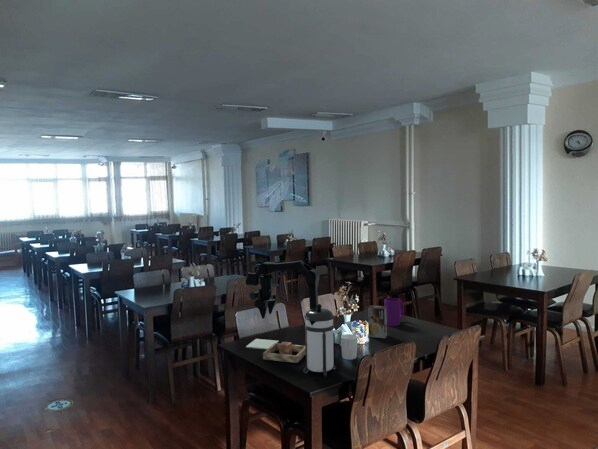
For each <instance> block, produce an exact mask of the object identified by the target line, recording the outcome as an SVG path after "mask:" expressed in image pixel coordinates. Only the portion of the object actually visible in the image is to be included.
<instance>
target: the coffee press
mask: <svg viewBox="0 0 598 449" xmlns="http://www.w3.org/2000/svg"><path fill="white" fill-rule="evenodd" d="M316 307H317V308H315V309H311V310H310V309H309V310H307V311H306V312H305V315H304V319H305V324H304V328H305V331H304V333H305V336H304V337H305V346H306V354H305V367H304V368H303V370H302V371H303V373H304V374H308V372H310V371H311V372H314V373H321V374H322V375H323V376H322V377H325V378H326V377H328V373H327V372H329V371H331V370H336V369H337V366H336V365H335V363H334V360H335V359H334V355H335V354H334V328H335V327H334V326H335V325H334V318H335V315H334V314H333V312H332V311H331V310H330V309H328V308H324V307H323V306H322V304H320V303H318V305H317V306H316Z"/></svg>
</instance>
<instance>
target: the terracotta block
mask: <svg viewBox="0 0 598 449" xmlns="http://www.w3.org/2000/svg"><path fill="white" fill-rule="evenodd" d="M292 345H293V343H292V342H290V341H282V342H281V343H280V345H279V350H278V351H279V353H278V354H286V355H293V351H292Z"/></svg>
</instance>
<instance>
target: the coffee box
mask: <svg viewBox="0 0 598 449" xmlns="http://www.w3.org/2000/svg"><path fill="white" fill-rule="evenodd" d="M367 310H368V312H367V315H368V319H367V321H368V337H369V338H377V339H378V338H379V339H386V338H387V337H388V326H387V307H386V306H384V305H369V307H368V309H367Z"/></svg>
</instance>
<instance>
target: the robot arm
mask: <svg viewBox="0 0 598 449" xmlns="http://www.w3.org/2000/svg"><path fill="white" fill-rule="evenodd" d="M290 270H297V271H299V273H300V274H301V276H303V278H305V283H306V285H307V288H308V298H309V310H311V309H315V308H317V307H316V306H317V305H318V304H319V294H318V286H319V283H320V282H319V281H320V271H318V269H315V268H313V267H312V266H310V265H308V264H307V263H305V262H304V261H303V260H297V261H288V262H287V261H286V262H285V261H284V262H273V261H265V262H262V263H260V264H259V266H258V270H257V271H256V272H248V273H247V274H246V275H247V276H246V278H245V284H246V286H248V287H258V286H259V285H260V288H259V289H258V291H256V292H255V291H252V292H250V293H249V297H248V298H249V299H251V301H253V306H254V307H255V308H257V309H258V311H259V313H260V316H261V319H265V318H266V314H267V311H268V315H272V313H273V310H274V308H275V306H276V303H277V301H278V300H279V295H278V294H277V293H272V291H273V290H274V287H273V286H272V279H275V278H276V276H275V274H273V273H274V272H278V271H280V272H281V271H290Z"/></svg>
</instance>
